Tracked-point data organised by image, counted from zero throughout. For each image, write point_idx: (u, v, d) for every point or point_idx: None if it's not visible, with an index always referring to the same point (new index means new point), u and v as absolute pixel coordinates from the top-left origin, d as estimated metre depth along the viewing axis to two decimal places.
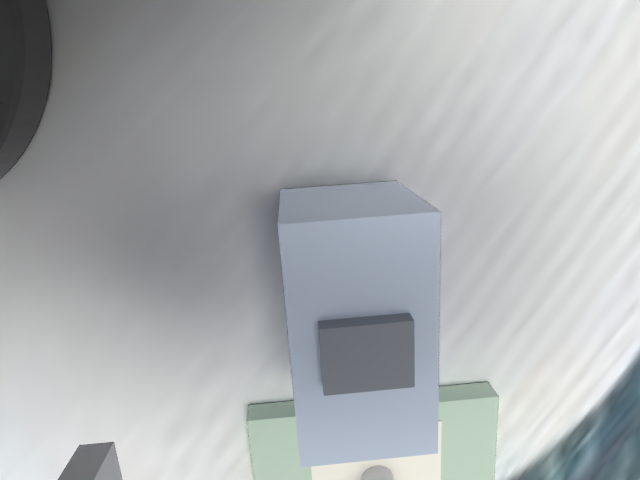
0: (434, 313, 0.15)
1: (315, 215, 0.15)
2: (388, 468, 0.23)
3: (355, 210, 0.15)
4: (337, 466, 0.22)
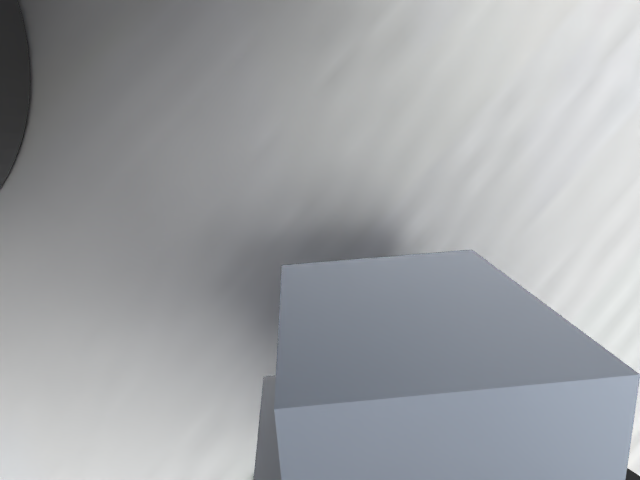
0: None
1: (355, 369, 0.07)
2: None
3: (437, 352, 0.07)
4: None
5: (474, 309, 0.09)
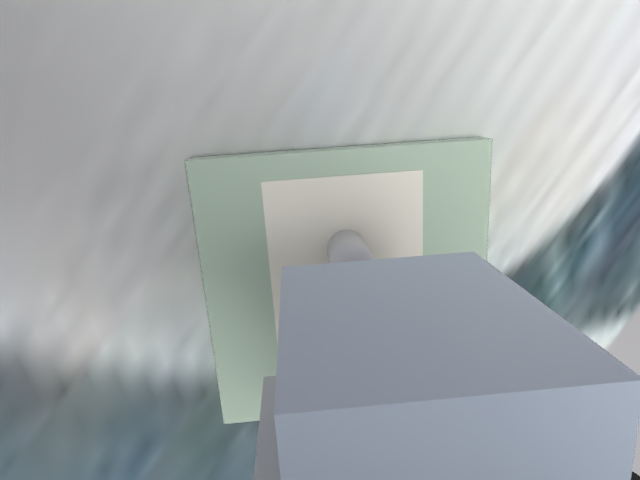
0: None
1: (356, 373, 0.07)
2: (359, 235, 0.19)
3: (439, 357, 0.07)
4: (297, 228, 0.18)
5: (476, 312, 0.08)
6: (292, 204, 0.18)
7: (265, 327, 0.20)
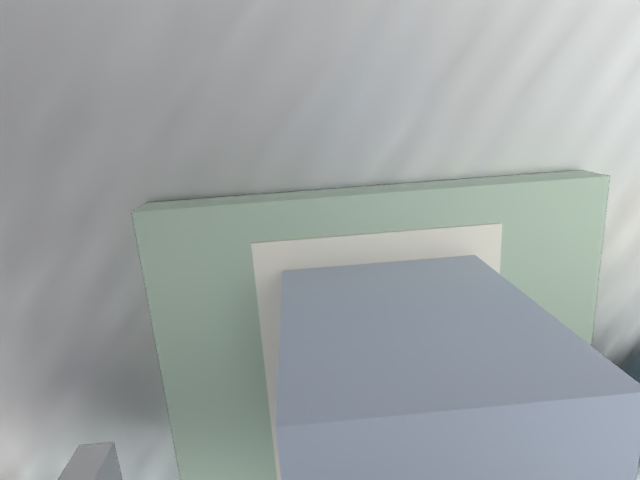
0: None
1: (358, 384, 0.07)
2: None
3: (441, 366, 0.07)
4: None
5: (478, 319, 0.08)
6: None
7: (259, 452, 0.13)
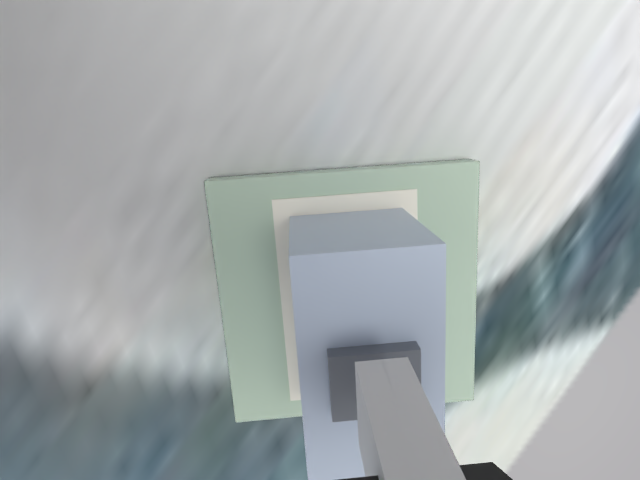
0: (440, 341, 0.15)
1: (324, 246, 0.15)
2: None
3: (363, 241, 0.15)
4: None
5: (388, 228, 0.17)
6: None
7: (274, 332, 0.22)
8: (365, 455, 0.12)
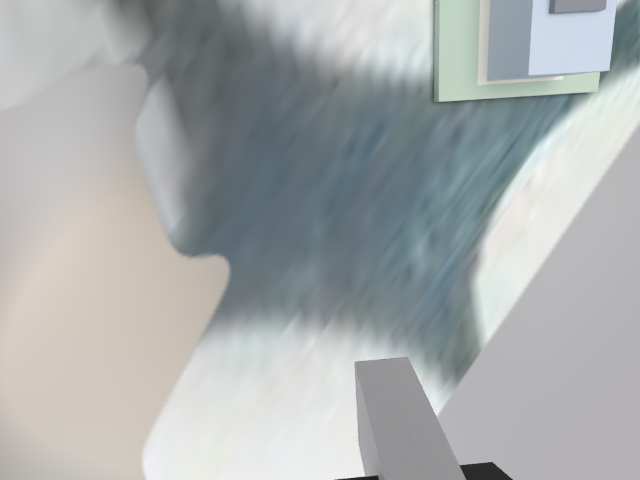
0: None
1: None
2: None
3: None
4: None
5: None
6: None
7: (472, 30, 0.32)
8: (365, 455, 0.12)
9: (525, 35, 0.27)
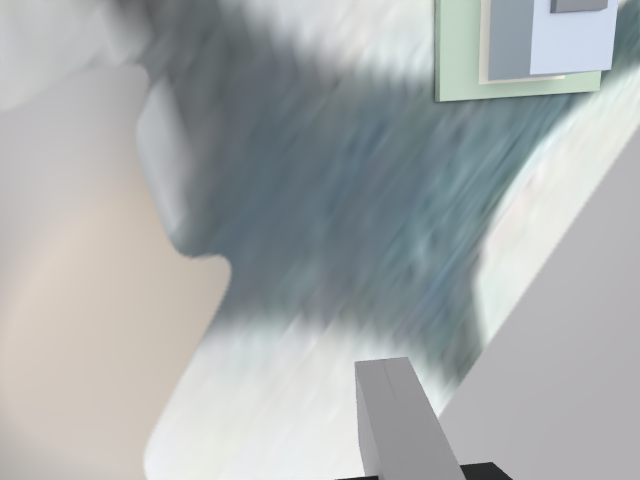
0: None
1: None
2: None
3: None
4: None
5: None
6: None
7: (473, 29, 0.32)
8: (365, 455, 0.12)
9: (526, 34, 0.27)
